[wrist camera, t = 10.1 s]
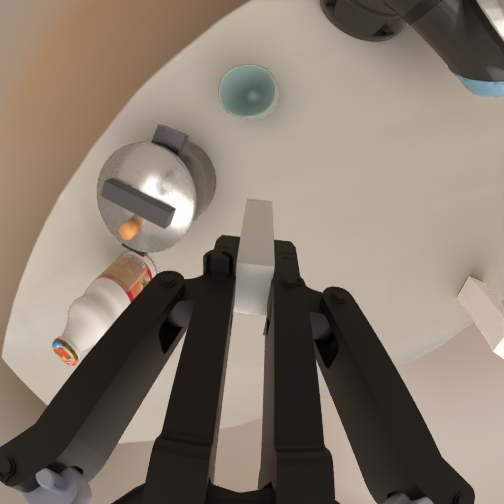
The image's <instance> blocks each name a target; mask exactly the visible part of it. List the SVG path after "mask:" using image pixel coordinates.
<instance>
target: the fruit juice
mask: <svg viewBox="0 0 504 504" xmlns="http://www.w3.org/2000/svg"><path fill="white" fill-rule="evenodd" d="M154 276H156V270H155V267H154V265H153V263H152V261H151V260H150V259H149V258H148V257H147V256H146V255H145V256H144V257H142V256H140V255H138V254H136V253H135V252H133V251H129V252H126V253H125V254H123V255H122V256H121V257H120V258H118V259H117V260H116V261H115V262H114V263H113V264H112V265H111V266H110V267H108V268H107V269H106V270H105V271H104V272H103V273H102V274H101V275H100V276H99V277H97V278H96V279H95V280H94V281H93V282H92V283H91V284H90V285H89V286H88V288H87V289H86V291H85V293H84V295H83V296H81V297H79V298H77V299H76V300H74V302H73V303H72V304H71V305H70V307H69V310H68V320H67V325H66V328H65V330H64V332H63V334H62V335H61V337H57V338H56V339H55V340H54V342H53V344H52V348H53V350H54V352H55V354H56V355H57V356H58V357H59V358H60V359H61V360H62V361H63V362H64V363H66V364H68V365H70V366H74V365H75V364H76V363H77V362H78V360H79V359H80V355H81V354H82V353H83V352H84V351H85V350H87V349H88V348H90V347H92V346H95V344H96V343H97V342H98V341H99V340H100V338H101V337H102V336H103V335H104V333H105V332H106V331H107V330H108V329H109V328H110V326H111V325H112V324H113V323H114V322H115V320H116V319H117V318H118V317H119V316H120V315H121V313H122V312H123V311H124V310H125V309H126V308H127V307H128V305H129V304H130V303H131V302H132V301H133V300H134V299H135V297H136V296H137V295H138V294H139V293H140V292H141V291H142V290H143V288H144V287H145V286H146V285H147V284H148V283H149V282H150V281H151V280H152V278H153V277H154Z"/></svg>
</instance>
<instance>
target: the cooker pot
mask: <svg viewBox="0 0 504 504" xmlns="http://www.w3.org/2000/svg"><path fill="white" fill-rule="evenodd" d="M188 136H189V135H186V134H184V133H182V132H179V131H177V130H174V129H172V128H169V127H167V126H164V125H158V127H157V129H156V132H155V134H154V137H153V140H152V143H156V144H159V145H162V146H164V147H166V148H168V149H169V150H171V151H172V152H173V153H175V154H176V155H177V156H178V157H179V158H180V159H181V160H182V162H183V163H184V164H185V166H186V167H187V169H188V170H189V172H190V175H191V177H192V179H193V182H194V186H195V191H196V211H195V216H194V219H193V221H194V220H195V219H196V218H197V217H198V216H199V215H200V214H201V213H202V212H203V211H204V210H205V209H206V208H207V207H208V205H209V204H210V202H211V200H212V198H213V196H214V193H215V188H216V175H215V170H214V167H213V165H212V163H211V161H210V159H209V157H208V156H207V155H206V154H205V152H204V151H203V150H201V149H200V148H199V147H198V146H196V145H194V144H192V143H190V142H187V138H188ZM122 246H124V247H125V248H127V249H129V250H131V251H133V252H135V253H136V254H138V255H140V256H142V257H144V256H145V255H146V254H147V253H148V252H142V251H138V250H135V249H132V248H130V247H128V246H126V245H125V244H123V243H122Z"/></svg>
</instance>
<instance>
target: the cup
mask: <svg viewBox="0 0 504 504" xmlns="http://www.w3.org/2000/svg"><path fill="white" fill-rule="evenodd" d="M219 99H220V102H221V105H222V106H223V108H224V109H225V110H226V111H227V112H228V113H229V114H231V115H233V116H235V117H238V118H241V119H247V120H256V119H261V118H264V117H266V116H268V115H270V114H271V113H272V112H273V111H274V110H275V109H276V107H277V104H278V100H279V91H278V86H277V83H276V80H275V78H274V77H273V75H272V74H271V73H270V72H269V71H268V70H267V69H265V68H263V67H261V66H258V65H252V64H247V65H240V66H237V67H234V68H232V69H230V70H229V71H228V72H226V73H225V74H224V76H223V77H222V79H221V81H220V84H219Z"/></svg>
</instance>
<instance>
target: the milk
mask: <svg viewBox="0 0 504 504" xmlns="http://www.w3.org/2000/svg"><path fill="white" fill-rule="evenodd" d="M457 298H458V300H459V301H460V303H461V304H462V305H463V307H464V308H465V309H466V311H467V312H468V314H469V315H470V317H471V318H472V319H473V321H474V322H475V323H476V325H477V327H478V328H479V330H480V331H481V333H482V334H483V336H484V337H485V339H486V341H487V342H488V344H489V345H490V347H491V349H492V350H493V352H495V353H496V354H498V355H499V356H501V357H502V358H503V359H504V306H503V305H502V304H501V302H500V301H499V300H498V299H497V298H496V296H495V295H494V294H493V293H492V292H491V291H490V290H489V289H488V287H487V286H486V285H485V284H484V283H483V282H481V281H479V280H477V279H475V278H473V277H470V276H469V277H468V279H467V280H466V282H465V284H464V286H463V287H462V289H461V291H460V292H459V294H458V296H457Z"/></svg>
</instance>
